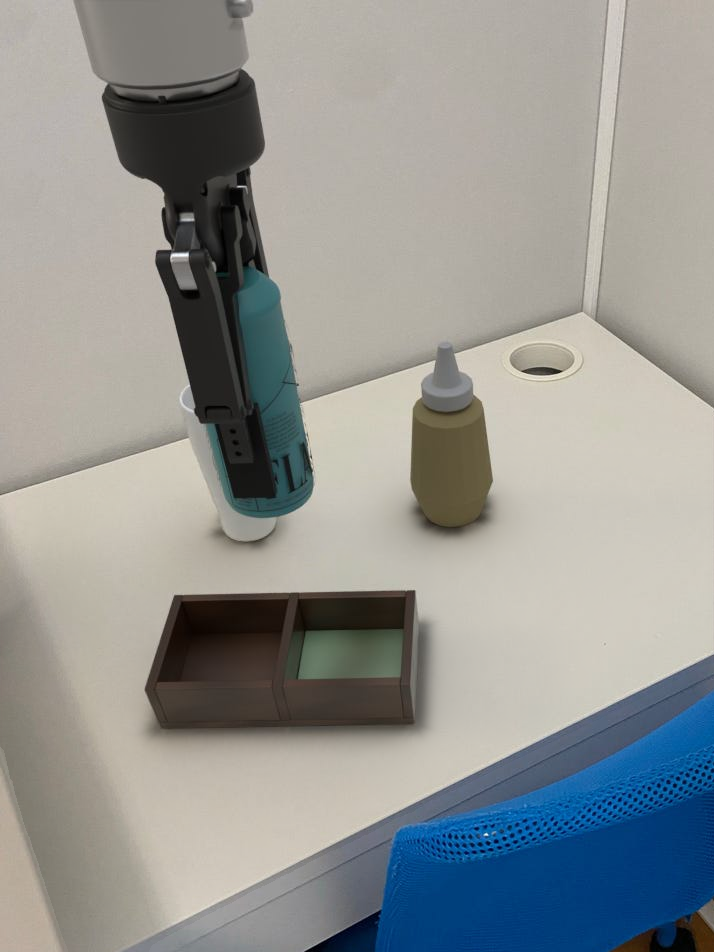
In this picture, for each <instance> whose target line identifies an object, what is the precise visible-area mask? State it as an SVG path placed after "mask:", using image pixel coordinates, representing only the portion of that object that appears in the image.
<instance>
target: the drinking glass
mask: <svg viewBox="0 0 714 952" xmlns="http://www.w3.org/2000/svg"><path fill="white" fill-rule="evenodd" d="M178 403H179V407H180V412H181V416H182V420H183V424H184V428H185V432H186V434H187V438H188V440H189V443H190V446H191V448H192V451H193V454H194V457H195V459H196V461H197V463H198V466H199V469H200V471H201V474H202V477H203V479H204V481H205V484H206V486H207V489H208V492H209V494H210V497H211V499H212V502H213V504H214V508H215V510H216V512H217V515H218V517H219V518H218V519H219V522H220V525H221V528H222V531H223V532H224V534H225V535H226V536H227V537H228V538H230V539H232V540H234V541H238V542H254V541H258V540H260V539H263V538H265V537H266V536H268V535H270V534H271V533H272V532H273V530H274V529H275V527H276V525H277V520H278V517H273V518H254V517H248V516H245V515H242V514H240V513H238V512H236V511H235V510H234V509H232V507H231V506H230V505H229V503H228V502H227V500H226V499H225V496H224V493H223V489H222V485H221V486H220V484H221V482H220V479H219V474H218V475H217V473H218V470H217V468H216V467H217V466H216V467H215V466H214V465H213V463H214V464H215V465H216V463H215V459H214V455H213V451H212V447H211V448H210V445H211V444H210V440H209V436H208V434H207V433H208V432H207V431H206V425H205V424H200V422H199V419H198V417H197V416H196V415H195V413H194V408H195V403H194V399H193V395H192V391H191V387H190V383H188V384H187V385H186V386H185V387H184V388H183V389H182V390H181V392H180V394H179V397H178ZM204 425H205V426H204ZM205 434H206V435H207V436H206V435H205ZM208 441H209V443H208ZM209 449H210V450H209ZM212 456H213V458H212ZM212 459H213V460H214V461H212ZM215 468H216V469H215ZM216 470H217V471H216ZM217 479H219V480H217Z"/></svg>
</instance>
